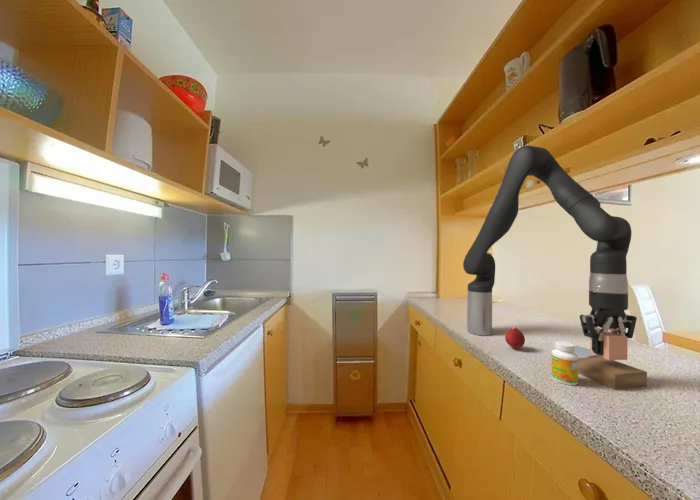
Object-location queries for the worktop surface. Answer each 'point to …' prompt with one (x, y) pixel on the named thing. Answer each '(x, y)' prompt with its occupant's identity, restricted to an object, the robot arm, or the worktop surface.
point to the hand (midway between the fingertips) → (607, 353)
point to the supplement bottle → (565, 363)
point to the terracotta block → (613, 346)
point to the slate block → (583, 352)
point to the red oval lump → (515, 338)
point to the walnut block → (612, 373)
